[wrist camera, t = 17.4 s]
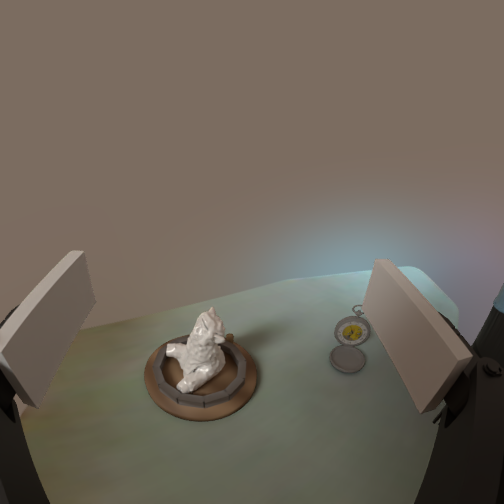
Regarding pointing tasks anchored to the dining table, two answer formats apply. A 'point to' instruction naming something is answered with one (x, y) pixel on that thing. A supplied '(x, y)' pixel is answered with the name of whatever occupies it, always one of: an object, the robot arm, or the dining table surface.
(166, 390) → the brown wooden disc
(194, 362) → the seated beast figurine
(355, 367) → the pocket watch
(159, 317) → the dining table surface
